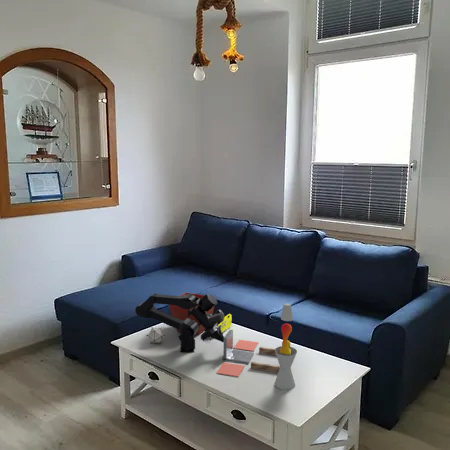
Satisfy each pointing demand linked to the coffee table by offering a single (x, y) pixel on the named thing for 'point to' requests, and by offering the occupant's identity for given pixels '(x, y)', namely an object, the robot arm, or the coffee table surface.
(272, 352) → the walnut corral
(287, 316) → the lava lamp
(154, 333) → the white faceted polyhedron
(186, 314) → the plant pot
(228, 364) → the mat
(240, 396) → the coffee table surface
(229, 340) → the grey bookend
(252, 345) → the mat
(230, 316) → the yellow toy chassis
